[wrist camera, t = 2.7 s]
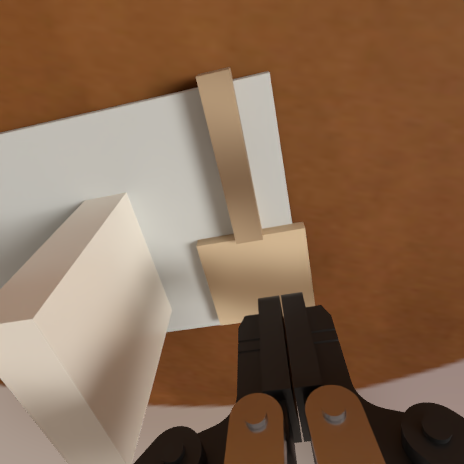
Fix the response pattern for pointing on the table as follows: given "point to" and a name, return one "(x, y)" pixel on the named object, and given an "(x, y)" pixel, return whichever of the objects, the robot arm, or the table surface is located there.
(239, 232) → the turner
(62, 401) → the tile
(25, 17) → the table surface
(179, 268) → the mat
